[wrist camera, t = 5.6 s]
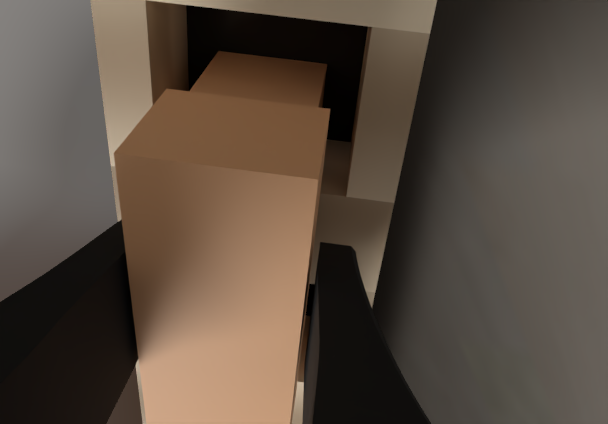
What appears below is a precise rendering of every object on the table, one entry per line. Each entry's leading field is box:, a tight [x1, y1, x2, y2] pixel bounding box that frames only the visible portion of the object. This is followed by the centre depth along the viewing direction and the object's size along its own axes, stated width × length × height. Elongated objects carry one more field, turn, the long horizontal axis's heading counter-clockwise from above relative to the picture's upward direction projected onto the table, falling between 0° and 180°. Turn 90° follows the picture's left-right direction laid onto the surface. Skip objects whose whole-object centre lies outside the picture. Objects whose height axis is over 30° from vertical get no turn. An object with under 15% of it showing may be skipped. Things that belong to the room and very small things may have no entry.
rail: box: [91, 0, 437, 424], centre depth 13 cm, size 20×6×2 cm, turn 175°
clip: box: [114, 51, 330, 424], centre depth 13 cm, size 8×3×6 cm, turn 175°
